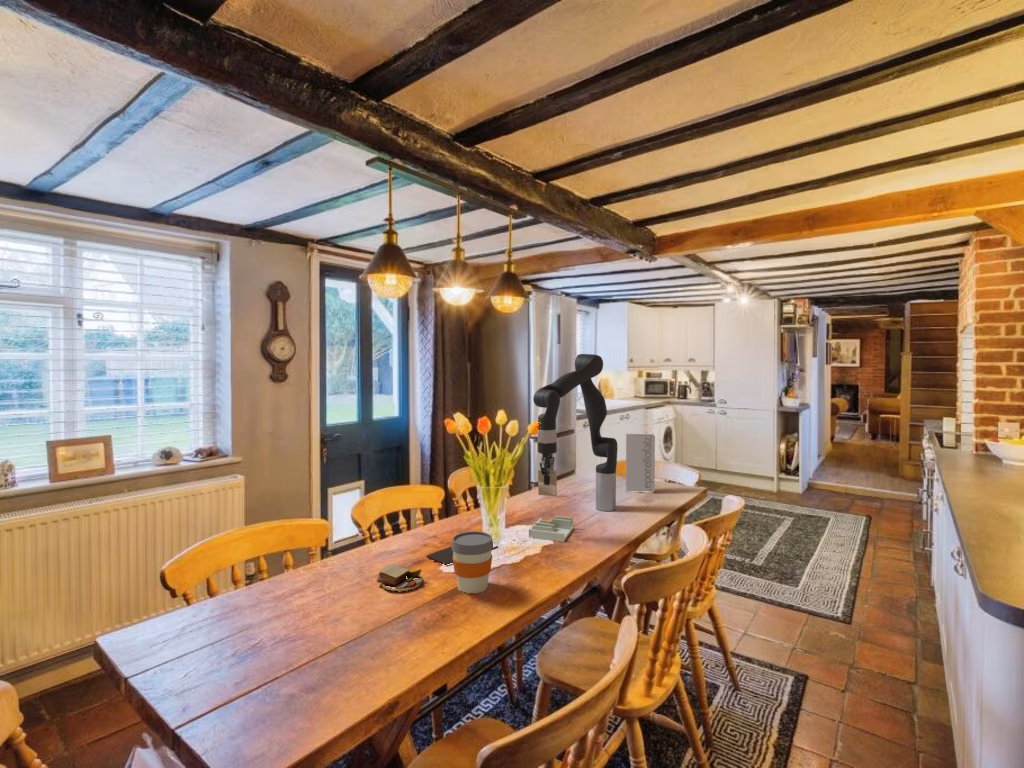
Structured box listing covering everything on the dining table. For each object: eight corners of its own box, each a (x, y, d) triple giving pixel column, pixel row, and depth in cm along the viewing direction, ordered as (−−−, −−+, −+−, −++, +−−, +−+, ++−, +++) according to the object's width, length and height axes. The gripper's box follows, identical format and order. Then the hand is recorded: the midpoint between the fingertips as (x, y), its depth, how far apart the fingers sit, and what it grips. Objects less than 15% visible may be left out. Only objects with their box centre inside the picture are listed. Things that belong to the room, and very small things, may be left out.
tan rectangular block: (539, 493, 198) (539, 468, 197) (556, 495, 195) (556, 470, 194) (538, 494, 196) (538, 469, 195) (555, 496, 193) (555, 471, 193)
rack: (540, 524, 208) (540, 514, 208) (573, 528, 203) (573, 517, 203) (528, 537, 193) (528, 526, 193) (563, 541, 188) (563, 530, 188)
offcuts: (541, 526, 202) (541, 519, 202) (554, 528, 201) (554, 520, 200) (537, 530, 198) (537, 522, 198) (550, 532, 196) (550, 524, 196)
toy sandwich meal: (403, 597, 144) (403, 581, 144) (370, 587, 151) (370, 571, 151) (431, 581, 155) (431, 566, 155) (399, 572, 162) (399, 558, 162)
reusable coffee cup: (444, 592, 147) (443, 542, 147) (463, 575, 159) (463, 529, 158) (482, 599, 143) (482, 548, 142) (499, 581, 154) (499, 534, 154)
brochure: (626, 492, 259) (626, 435, 257) (625, 489, 264) (626, 433, 263) (654, 493, 256) (654, 435, 255) (653, 490, 262) (653, 434, 260)
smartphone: (423, 555, 174) (476, 536, 192) (423, 559, 174) (477, 540, 192) (445, 565, 165) (499, 544, 183) (445, 569, 165) (499, 548, 183)
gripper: (542, 437, 202) (543, 479, 203) (532, 443, 189) (533, 487, 190) (560, 438, 199) (561, 480, 200) (551, 444, 186) (552, 489, 187)
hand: (547, 483), depth 195 cm, fingers closed on tan rectangular block, 1 cm apart
